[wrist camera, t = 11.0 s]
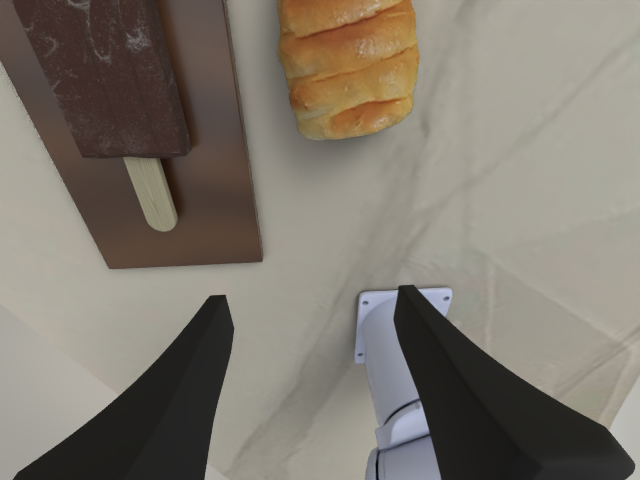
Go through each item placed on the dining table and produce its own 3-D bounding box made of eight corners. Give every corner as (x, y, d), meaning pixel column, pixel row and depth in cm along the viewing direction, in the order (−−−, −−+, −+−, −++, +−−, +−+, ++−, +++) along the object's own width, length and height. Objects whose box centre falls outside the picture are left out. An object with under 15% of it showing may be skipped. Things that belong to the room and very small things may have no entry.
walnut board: (263, 256, 22) (262, 262, 22) (114, 263, 22) (108, 269, 21) (189, -254, 10) (181, -275, 10) (-148, -263, 10) (-182, -286, 9)
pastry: (244, -74, 13) (227, -114, 10) (399, -123, 12) (435, -183, 9) (302, 141, 18) (303, 161, 15) (412, 112, 17) (438, 126, 14)
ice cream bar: (211, 221, 20) (129, -118, 11) (204, 235, 18) (106, -140, 10) (129, 224, 19) (-15, -121, 11) (116, 238, 18) (-59, -144, 10)
